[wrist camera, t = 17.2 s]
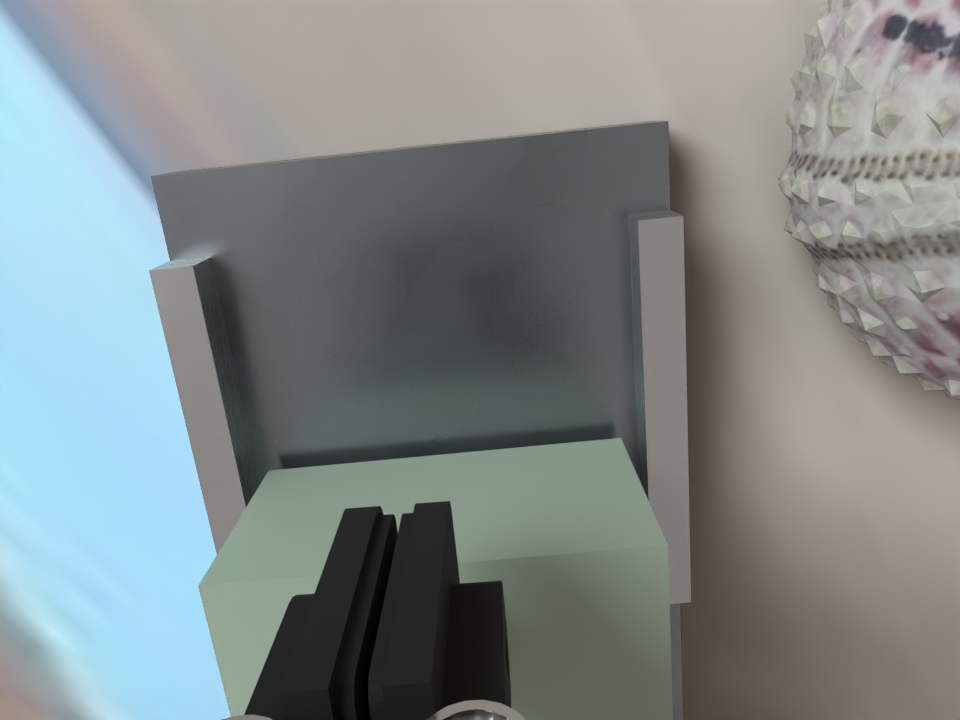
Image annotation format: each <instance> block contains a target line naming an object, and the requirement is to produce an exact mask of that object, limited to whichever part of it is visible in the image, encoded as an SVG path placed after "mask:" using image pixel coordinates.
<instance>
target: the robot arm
mask: <svg viewBox="0 0 960 720" xmlns="http://www.w3.org/2000/svg"><path fill="white" fill-rule="evenodd" d="M222 720H526V719H525V718H523V717H522V716H521V715H520V714H519V713H518V712H517V711H516V710H514V709H512V707H511V683H510V665H509V650H508V636H507V624H506V614H505V603H504V593H503V584H502V581H489V582H475V583H461V584H460V579H459V570H458V561H457V552H456V543H455V535H454V526H453V517H452V509H451V504H450V501H442V502H429V503H416V504H415V506H414V511H413V513H403V514H402V517H401V521H400V526H399V531H398V530H397V524H396V518H395V515H394V514H388V515H384V514H383V511H382V508H381V506H373V507H360V508H347V509H345V510H344V512H343V515H342V518H341V521H340V523H339V526H338V529H337V532H336V535H335V537H334V540H333V543H332V546H331V549H330V551H329V554H328V557H327V560H326V563H325V565H324V568H323V571H322V574H321V577H320V579H319V582H318V585H317V588H316V591H315V593H314V594H302V595H295V596H293V597H292V599H291V600H290V602H289V604H288V607H287V609H286V612H285V614H284V617H283V619H282V622H281V624H280V627H279V629H278V632H277V634H276V637H275V639H274V641H273V644H272V646H271V649H270V651H269V654H268V656H267V659H266V661H265V664H264V666H263V669H262V671H261V674H260V676H259V679H258V681H257V684H256V686H255V689H254V691H253V694H252V696H251V699H250V701H249V704H248V706H247V709H246V711H245V714H244V715H239V716H233V717H229V718H226V719H222Z"/></svg>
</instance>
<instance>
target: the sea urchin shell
mask: <svg viewBox="0 0 960 720" xmlns="http://www.w3.org/2000/svg"><path fill="white" fill-rule="evenodd" d="M820 13H821V19H819V20H818V21H817V24H816V25H815V26H813V27H812V28H811V29H809V30H808V31H806V32H805V33H804V34H805V43H806V52H807V57H806V58H805V60H804V61H803V62H802V64H801V65H800V66H799V68H798V69H797V70H796V72H795V73H794V75H793V76H792V77H791V81H792V84H793V87H794V90H795V92H796V98H795V101H794V103H793V104H792V106H791V107H790V109H789V111H788V112H787V119H786V124H787V125H788V126H789V127H790V128H791V129H792V154H791V157H790V160H789V163H788V165H787V166H786V167H785V169H784V170H783V171H782V173H781V174H780V175H779V177H778V178H777V179H778V180H779V187H780V189H781V191H782V192H783V193H784V195H785V196H786V197H787V198H788V199H789V201H790V205H791V211H790V214H789V217H788V219H787V222H786V225H785V228H784V229H785V230H786V231H787V232H789V233H790V234H792V237H793V238H795V239H797V240H798V241H800V242H802V243H803V244H804V245H805V247H806V248H807V249H808V250H809V251H810V253H811V254H812V256H813V258H814V260H815V265H814V268H813V272H814V273H815V274H816V275H817V287H818V288H820V289H821V290H822V291H824V292H825V293H826V294H827V295H828V306H830V307H831V308H833V309H834V310H836V311H837V312H838V316H839V320H840V321H841V322H842V323H843V324H846V325H848V326H850V327H851V329H852V333H853V335H854V336H855V337H856V338H857V339H858V341H859V342H863V343H868V345H869V348H870V350H871V352H872V355H873V356H879V357H880V360H881V362H883V363H884V364H886V365H890V366H894V367H896V368H897V369H898V371H899V373H903V374H905V375H908V376H912V377H916V378H917V379H918V381H919V383H920V385H921V386H922V388H923V390H924V391H928V390H943V391H944V393H945V394H946V395H947V396H948V397H949V398H950V399H960V0H828V3H827V4H826V5H824V6H823V7H822V8H821V9H820Z"/></svg>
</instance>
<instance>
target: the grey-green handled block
mask: <svg viewBox="0 0 960 720" xmlns="http://www.w3.org/2000/svg"><path fill="white" fill-rule="evenodd" d="M442 501H450V504H451V509H452V517H453V526H454V535H455V543H456V552H457V561H458V570H459V579H460V584H461V583H475V582H489V581H502V584H503V593H504V603H505V614H506V624H507V636H508V650H509V665H510V683H511V707H512V709H514V710H516V711H517V712H518V713H519V714H520V715H521V716H522V717H523V718H525V719H526V720H673V702H672V668H671V635H670V602H669V569H668V544H667V542H666V540H665V537H664V535H663V533H662V531H661V528H660V526H659V524H658V521H657V519H656V517H655V515H654V512H653V510H652V508H651V505H650V503H649V501H648V499H647V496H646V494H645V492H644V489H643V487H642V485H641V483H640V480H639V478H638V476H637V473H636V471H635V469H634V467H633V464H632V462H631V460H630V457H629V455H628V453H627V451H626V448H625V446H624V444H623V441H622V439H621V438H615V439H604V440H593V441H582V442H572V443H561V444H550V445H539V446H528V447H518V448H507V449H496V450H485V451H475V452H464V453H453V454H442V455H431V456H421V457H410V458H399V459H388V460H378V461H367V462H356V463H345V464H334V465H324V466H313V467H302V468H291V469H281V470H270V471H268V472H267V474H266V476H265V477H264V479H263V481H262V482H261V484H260V486H259V487H258V489H257V491H256V492H255V494H254V495H253V497H252V499H251V500H250V502H249V504H248V505H247V507H246V509H245V510H244V512H243V513H242V515H241V517H240V518H239V520H238V522H237V523H236V525H235V527H234V528H233V530H232V532H231V533H230V535H229V536H228V538H227V540H226V541H225V543H224V545H223V546H222V548H221V550H220V551H219V553H218V554H217V556H216V558H215V559H214V561H213V563H212V564H211V566H210V568H209V569H208V571H207V573H206V574H205V576H204V577H203V579H202V581H201V582H200V584H199V586H198V587H199V591H200V595H201V599H202V603H203V607H204V611H205V615H206V619H207V623H208V627H209V631H210V635H211V639H212V643H213V647H214V651H215V655H216V659H217V663H218V667H219V671H220V675H221V679H222V683H223V687H224V691H225V695H226V699H227V703H228V707H229V711H230V714H231V717H233V716H239V715H244V714H245V711H246V709H247V706H248V704H249V701H250V699H251V696H252V694H253V691H254V689H255V686H256V684H257V681H258V679H259V676H260V674H261V671H262V669H263V666H264V664H265V661H266V659H267V656H268V654H269V651H270V649H271V646H272V644H273V641H274V639H275V637H276V634H277V632H278V629H279V627H280V624H281V622H282V619H283V617H284V614H285V612H286V609H287V607H288V604H289V602H290V600H291V599H292V597H293V596H295V595H302V594H314V593H315V591H316V588H317V585H318V582H319V579H320V577H321V574H322V571H323V568H324V565H325V563H326V560H327V557H328V554H329V551H330V549H331V546H332V543H333V540H334V537H335V535H336V532H337V529H338V526H339V523H340V521H341V518H342V515H343V512H344V510H345V509H347V508H360V507H373V506H381V508H382V511H383V514H384V515H388V514H394V515H395V518H396V524H397V530H398V531H399V526H400V521H401V517H402V514H403V513H413V511H414V506H415V504H416V503H429V502H442Z"/></svg>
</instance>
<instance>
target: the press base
mask: <svg viewBox="0 0 960 720" xmlns="http://www.w3.org/2000/svg"><path fill="white" fill-rule="evenodd" d="M151 179H152V184H153V188H154V192H155V197H156V201H157V205H158V210H159V214H160V218H161V223H162V227H163V232H164V236H165V240H166V245H167V249H168V253H169V258H170V262H167V263H165V264H163V265H161V266H158V267H156V268H154V269H152V270H150V271H149V272H150V276H151V280H152V284H153V289H154V293H155V297H156V301H157V305H158V309H159V314H160V318H161V322H162V326H163V330H164V335H165V339H166V343H167V347H168V351H169V356H170V360H171V364H172V368H173V372H174V377H175V381H176V385H177V389H178V393H179V397H180V402H181V406H182V410H183V414H184V418H185V423H186V427H187V431H188V435H189V439H190V444H191V448H192V452H193V456H194V460H195V464H196V469H197V473H198V477H199V481H200V485H201V490H202V494H203V498H204V502H205V506H206V511H207V515H208V519H209V523H210V527H211V531H212V536H213V540H214V544H215V548H216V552H217V554H218V553H219V551H220V550H221V548H222V546H223V545H224V543H225V541H226V540H227V538H228V536H229V535H230V533H231V532H232V530H233V528H234V527H235V525H236V523H237V522H238V520H239V518H240V517H241V515H242V513H243V512H244V510H245V509H246V507H247V505H248V504H249V502H250V500H251V499H252V497H253V495H254V494H255V492H256V491H257V489H258V487H259V486H260V484H261V482H262V481H263V479H264V477H265V476H266V474H267V472H268V471H270V470H281V469H291V468H302V467H313V466H324V465H334V464H345V463H356V462H367V461H378V460H388V459H399V458H410V457H421V456H431V455H442V454H453V453H464V452H475V451H485V450H496V449H507V448H518V447H528V446H539V445H550V444H561V443H572V442H582V441H593V440H604V439H615V438H621V439H622V441H623V444H624V446H625V448H626V451H627V453H628V455H629V457H630V460H631V462H632V464H633V467H634V469H635V471H636V473H637V476H638V478H639V480H640V483H641V485H642V487H643V489H644V492H645V494H646V496H647V499H648V501H649V503H650V505H651V508H652V510H653V512H654V515H655V517H656V519H657V521H658V524H659V526H660V528H661V531H662V533H663V535H664V537H665V540H666V542H667V544H668V569H669V602H670V635H671V668H672V702H673V720H683V690H682V650H681V610H680V603H689V602H691V568H690V518H689V467H688V417H687V367H686V317H685V267H684V217H683V216H682V215H680V214H678V213H676V212H674V211H672V210H670V172H669V133H668V121H650V122H641V123H631V124H622V125H612V126H603V127H594V128H584V129H575V130H566V131H556V132H547V133H537V134H528V135H519V136H509V137H500V138H491V139H481V140H472V141H462V142H453V143H444V144H434V145H425V146H416V147H406V148H397V149H387V150H378V151H369V152H359V153H350V154H341V155H331V156H322V157H312V158H303V159H294V160H284V161H275V162H266V163H256V164H247V165H237V166H228V167H219V168H209V169H200V170H191V171H181V172H173V173H167V174H161V175H155V176H151Z"/></svg>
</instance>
